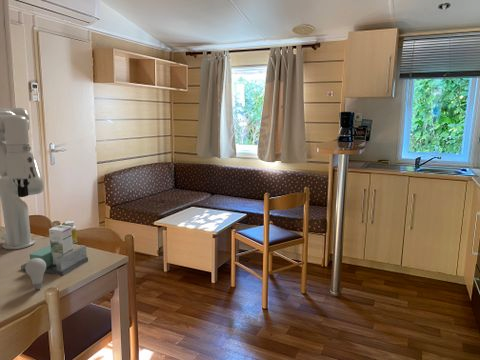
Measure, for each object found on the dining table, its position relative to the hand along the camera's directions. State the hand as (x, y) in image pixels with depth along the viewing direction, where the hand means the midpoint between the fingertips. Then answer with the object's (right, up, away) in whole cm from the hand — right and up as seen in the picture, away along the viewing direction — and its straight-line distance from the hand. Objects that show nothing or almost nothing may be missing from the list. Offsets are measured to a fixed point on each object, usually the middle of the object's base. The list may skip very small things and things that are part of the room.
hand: (23, 196), depth 142 cm
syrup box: (+15, -26, 0) cm, 30 cm away
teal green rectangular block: (+10, -25, +2) cm, 27 cm away
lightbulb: (+15, -31, -18) cm, 39 cm away
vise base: (+13, -27, +2) cm, 30 cm away
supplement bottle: (+6, -23, +27) cm, 36 cm away
